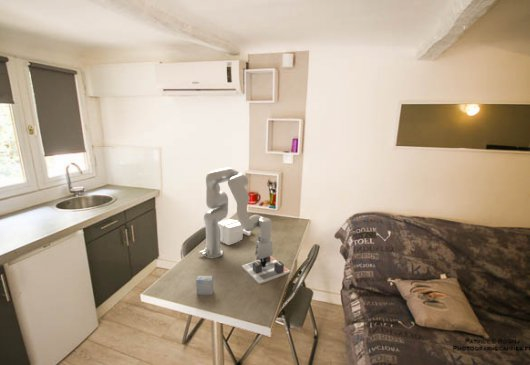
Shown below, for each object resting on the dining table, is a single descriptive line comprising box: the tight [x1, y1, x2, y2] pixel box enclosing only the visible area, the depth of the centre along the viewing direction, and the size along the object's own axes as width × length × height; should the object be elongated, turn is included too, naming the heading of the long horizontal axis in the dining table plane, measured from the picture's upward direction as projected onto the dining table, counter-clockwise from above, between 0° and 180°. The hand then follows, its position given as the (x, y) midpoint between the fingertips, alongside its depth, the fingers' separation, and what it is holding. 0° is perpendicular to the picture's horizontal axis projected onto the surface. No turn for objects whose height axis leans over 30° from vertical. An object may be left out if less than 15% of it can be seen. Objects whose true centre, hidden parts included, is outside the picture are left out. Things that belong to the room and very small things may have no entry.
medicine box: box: [195, 275, 214, 296], centre depth 131 cm, size 8×4×9 cm, turn 92°
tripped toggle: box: [252, 260, 262, 273], centre depth 149 cm, size 4×4×5 cm
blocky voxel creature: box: [218, 218, 252, 246], centre depth 194 cm, size 15×25×28 cm
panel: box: [241, 255, 291, 285], centre depth 153 cm, size 22×20×6 cm
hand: (263, 266), depth 152 cm, fingers closed
